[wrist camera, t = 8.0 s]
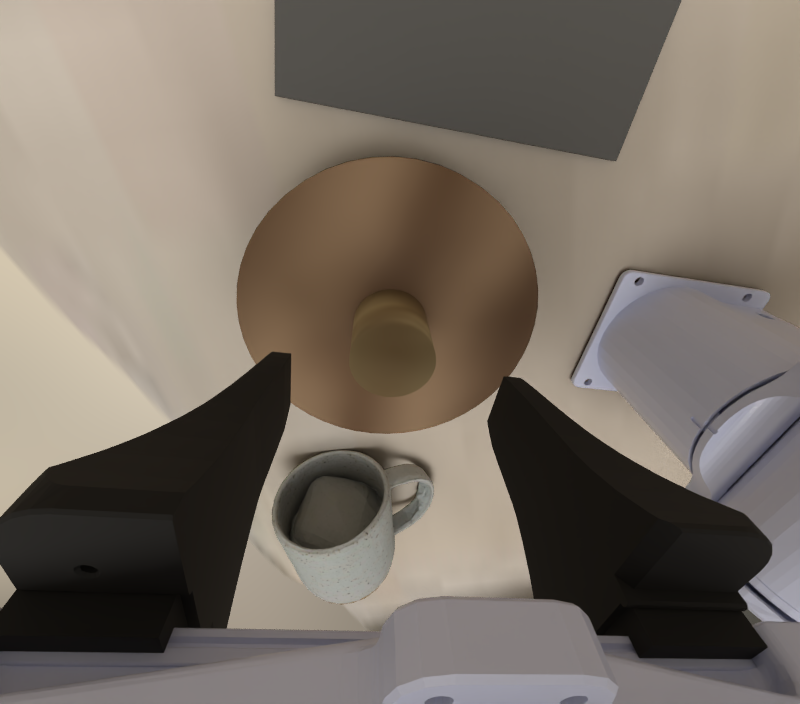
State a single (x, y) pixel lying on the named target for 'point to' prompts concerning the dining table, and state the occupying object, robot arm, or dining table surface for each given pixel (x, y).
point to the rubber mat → (479, 64)
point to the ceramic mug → (344, 521)
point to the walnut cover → (389, 294)
